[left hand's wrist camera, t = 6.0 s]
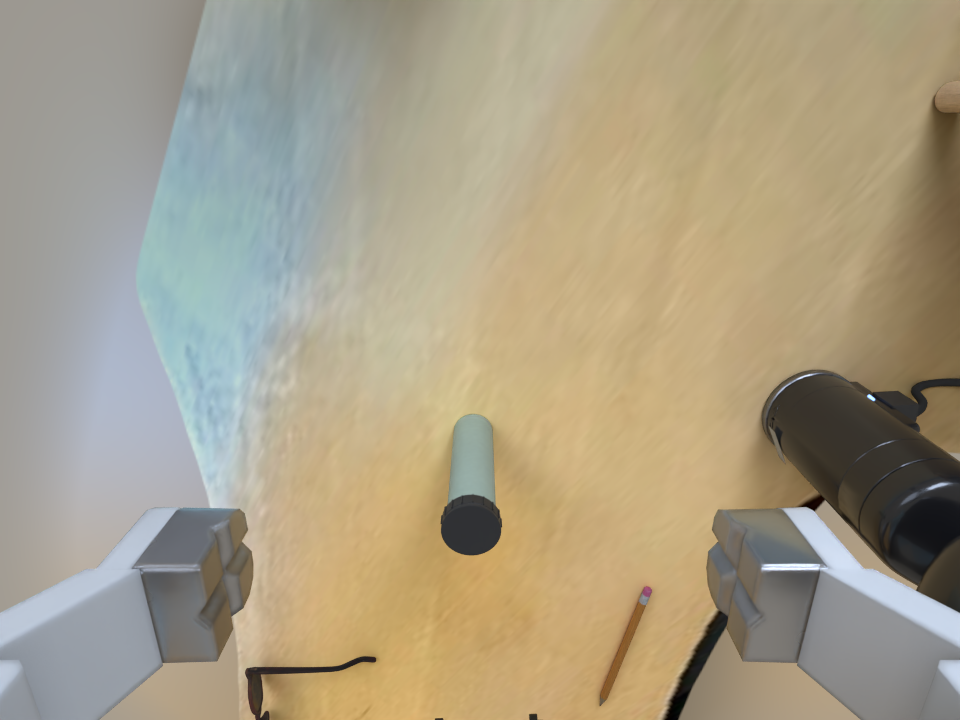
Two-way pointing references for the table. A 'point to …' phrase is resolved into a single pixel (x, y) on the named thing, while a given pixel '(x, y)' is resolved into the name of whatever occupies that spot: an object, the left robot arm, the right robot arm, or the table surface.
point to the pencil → (625, 643)
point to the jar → (472, 459)
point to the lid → (471, 524)
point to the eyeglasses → (256, 682)
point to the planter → (948, 98)
